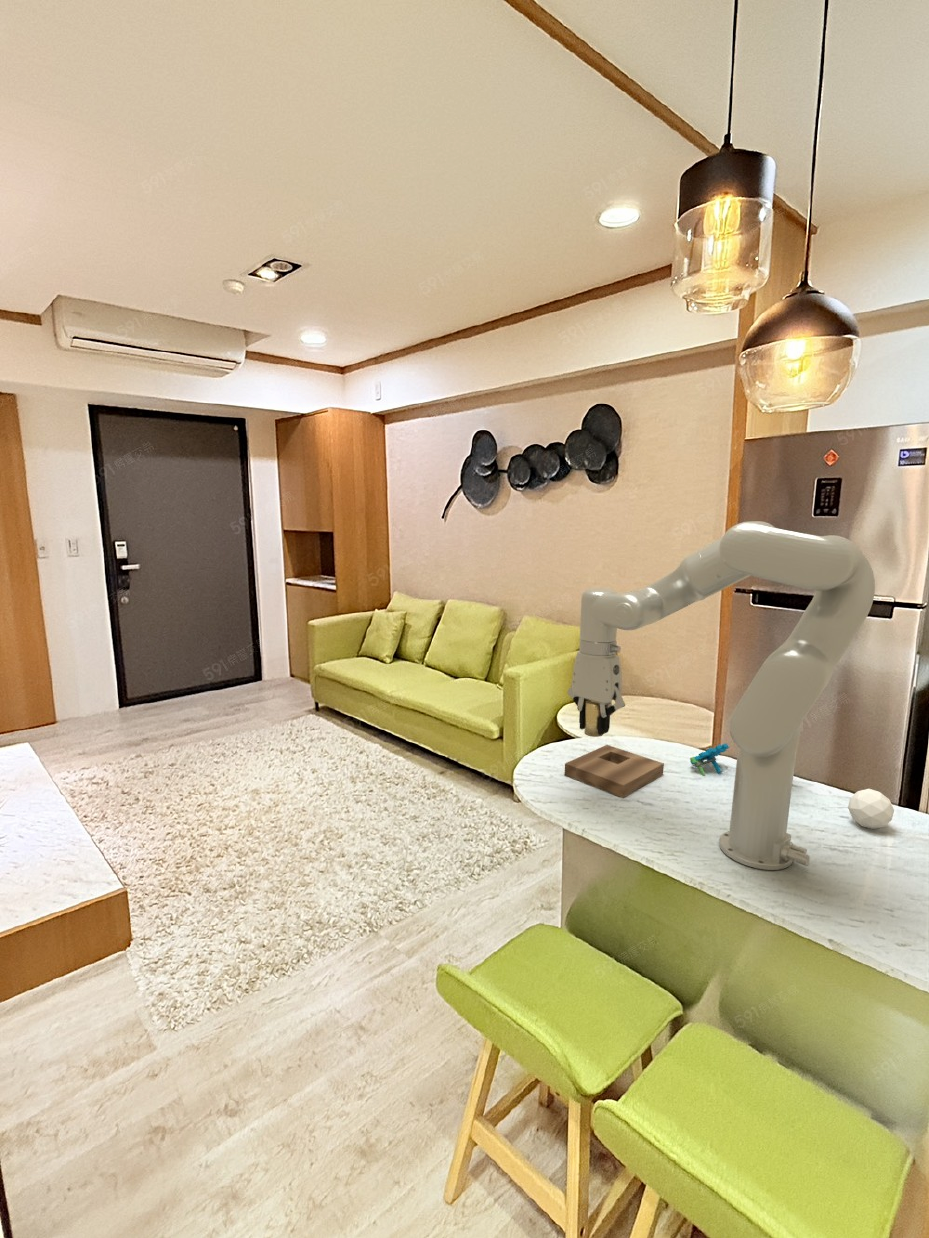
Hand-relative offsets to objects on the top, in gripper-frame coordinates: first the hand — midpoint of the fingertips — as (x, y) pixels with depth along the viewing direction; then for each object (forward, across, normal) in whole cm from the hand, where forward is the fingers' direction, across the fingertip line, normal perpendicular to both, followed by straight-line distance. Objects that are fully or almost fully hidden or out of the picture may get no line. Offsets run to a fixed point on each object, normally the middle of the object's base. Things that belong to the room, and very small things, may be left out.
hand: (593, 729), depth 135 cm
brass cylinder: (+1, 0, 0) cm, 1 cm away
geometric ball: (+17, -45, -33) cm, 59 cm away
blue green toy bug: (+17, -10, -36) cm, 41 cm away
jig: (+16, +4, -15) cm, 22 cm away
